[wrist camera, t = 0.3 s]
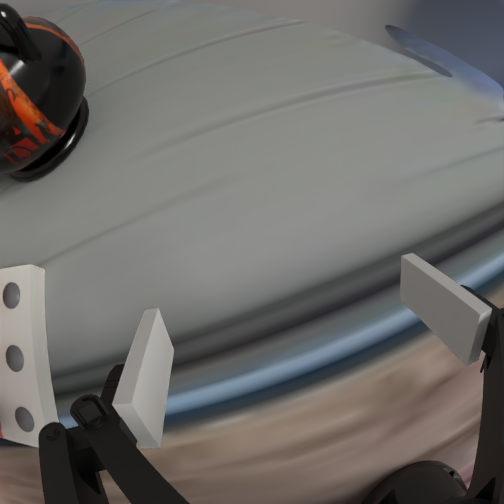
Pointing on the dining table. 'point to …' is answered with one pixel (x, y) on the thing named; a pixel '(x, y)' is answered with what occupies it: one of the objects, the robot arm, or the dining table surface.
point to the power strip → (24, 356)
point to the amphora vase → (38, 95)
